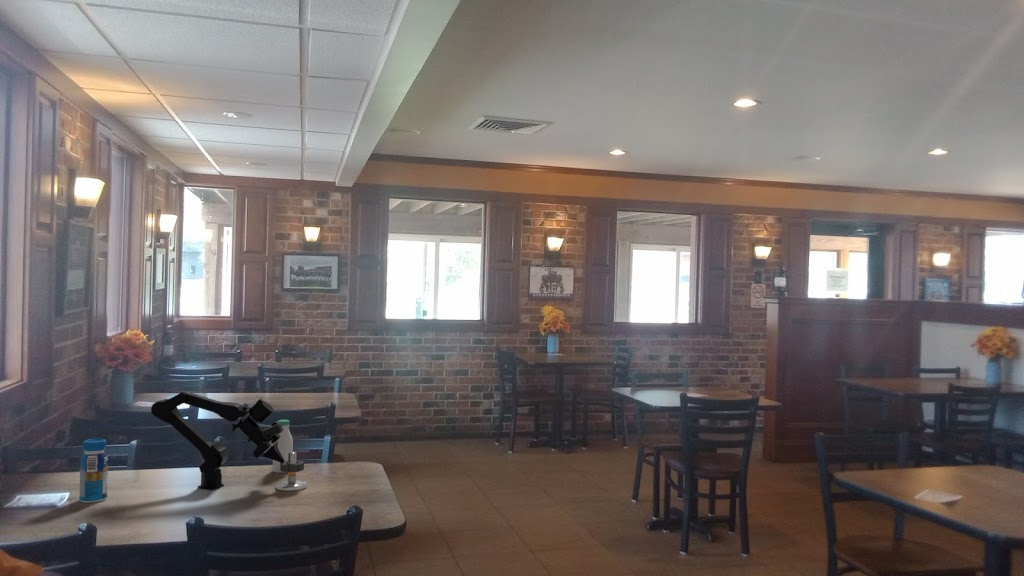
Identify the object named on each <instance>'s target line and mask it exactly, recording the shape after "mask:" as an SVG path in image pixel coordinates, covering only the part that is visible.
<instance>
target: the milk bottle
mask: <svg viewBox="0 0 1024 576" xmlns="http://www.w3.org/2000/svg"><path fill="white" fill-rule="evenodd" d="M276 421H277V422H278V423H281V424H282V428H283V431H282V432H281V433H279V435H280V436H281V437H280V438H279V439H278V440H277V441H278V449H279V451H280V453H281V455H282V457H283V458H284V460H285V461H288V453H289V452H294V444H293V443H294V442H293V436H292V434H291V431H290V420H289V419H279V420H276ZM277 441H276V442H277ZM276 442H275V443H276ZM271 460H272V459H271ZM280 463H281V462H278V461H275V460H272V462H271V470H272V473H275V474H276V473H277V474H279V473H280V474H283V473H287V472H282V471H281V470H280Z"/></svg>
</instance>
